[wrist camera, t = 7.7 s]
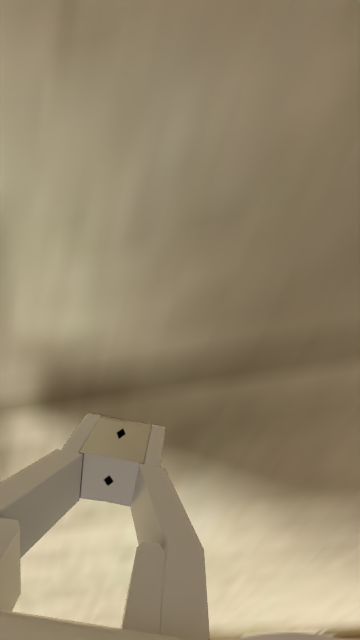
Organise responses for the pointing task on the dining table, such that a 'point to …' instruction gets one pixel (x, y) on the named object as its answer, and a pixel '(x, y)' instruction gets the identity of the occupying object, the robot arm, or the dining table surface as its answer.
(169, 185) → the dining table surface
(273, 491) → the dining table surface
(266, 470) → the dining table surface
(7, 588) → the robot arm
